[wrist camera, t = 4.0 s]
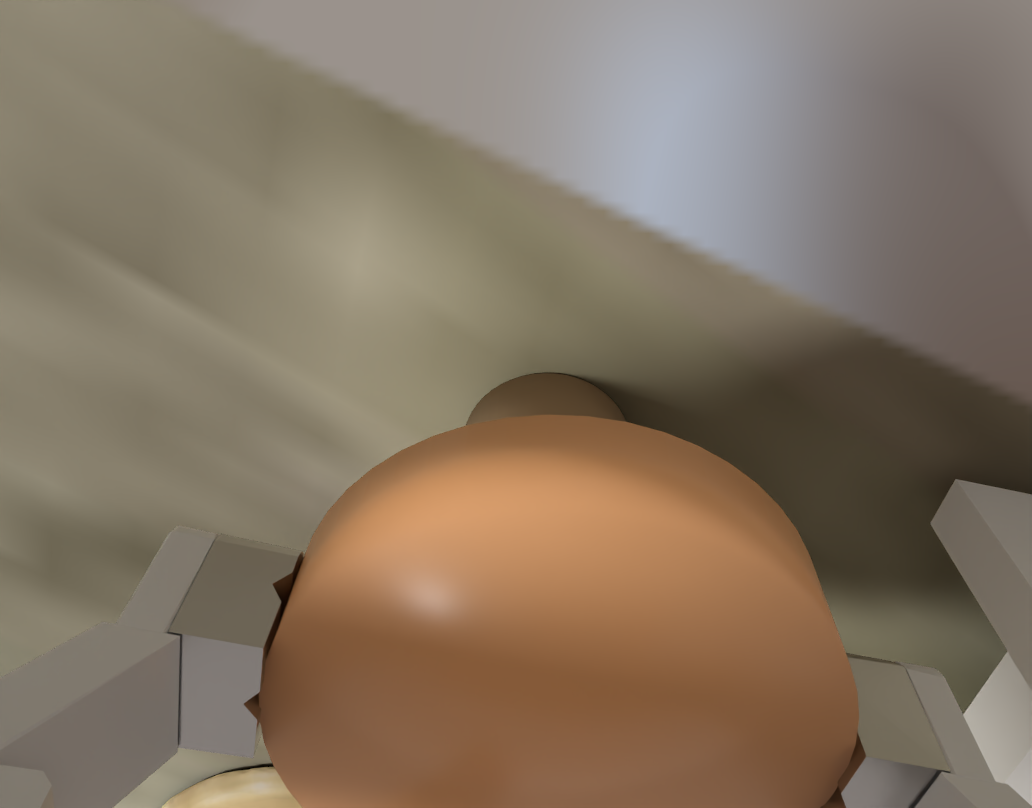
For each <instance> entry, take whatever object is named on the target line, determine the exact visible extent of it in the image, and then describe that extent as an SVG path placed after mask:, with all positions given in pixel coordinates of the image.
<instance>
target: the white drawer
mask: <svg viewBox="0 0 1032 808" xmlns="http://www.w3.org/2000/svg"><path fill="white" fill-rule="evenodd" d="M930 524H931V526H932V528H933V529H934V531H935V533H936V534H937V536H938V537H939V539H940V541H941V542H942V544H943V546H944V547H945V549H946V551H947V552H948V554H949V556H950V557H951V559H952V561H953V562H954V564H955V565H956V567H957V569H958V570H959V572H960V574H961V575H962V577H963V579H964V580H965V582H966V584H967V585H968V587H969V589H970V590H971V592H972V593H973V595H974V597H975V598H976V600H977V602H978V603H979V605H980V607H981V608H982V610H983V612H984V613H985V615H986V617H987V618H988V620H989V621H990V623H991V625H992V626H993V628H994V630H995V631H996V633H997V635H998V636H999V638H1000V640H1001V641H1002V643H1003V645H1004V646H1005V648H1006V649H1007V653H1006V654H1005V656H1004V657H1003V658H1002V660H1001V661H1000V663H999V664H998V666H997V667H996V668H995V670H994V671H993V673H992V674H991V676H990V677H989V679H988V680H987V681H986V683H985V684H984V686H983V687H982V689H981V690H980V691H979V693H978V694H977V696H976V697H975V699H974V700H973V702H972V703H971V704H970V706H969V707H968V709H967V710H966V712H965V713H964V714H963V716H964V718H965V720H966V722H967V724H968V726H969V728H970V730H971V732H972V734H973V736H974V738H975V740H976V742H977V744H978V746H979V749H980V751H981V753H982V755H983V757H984V759H985V761H986V763H987V765H988V767H989V769H990V771H991V773H992V775H993V777H994V779H995V781H996V782H1000V783H1005V784H1008V785H1009V786H1010V787H1011V788H1013V789H1014V790H1015V791H1016V792H1017V793H1018V794H1019V795H1020V796H1021V797H1022V798H1024V799H1025V800H1026V801H1027V802H1028V803H1029V804H1030V805H1031V806H1032V494H1027V493H1022V492H1017V491H1012V490H1007V489H1002V488H997V487H992V486H988V485H983V484H978V483H973V482H968V481H963V480H958V479H955V481H954V483H953V484H952V486H951V488H950V490H949V491H948V493H947V495H946V497H945V498H944V500H943V502H942V504H941V505H940V507H939V509H938V511H937V512H936V514H935V516H934V518H933V519H932V521H931V523H930Z"/></svg>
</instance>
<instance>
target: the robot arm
mask: <svg viewBox="0 0 1032 808" xmlns="http://www.w3.org/2000/svg"><path fill="white" fill-rule="evenodd" d="M303 558H304V554H303V552H302V551H301V550H296V549H291V548H286V547H282V546H277V545H272V544H268V543H263V542H258V541H254V540H249V539H244V538H240V537H235V536H230V535H225V534H216V533H211V532H207V531H202V530H197V529H193V528H188V527H184V526H179V525H178V526H177V527H176V528H175V529H173V530H172V531H171V532H170V533H169V534H168V536H167V537H166V539H165V541H164V542H163V544H162V546H161V547H160V549H159V551H158V552H157V554H156V556H155V558H154V559H153V561H152V563H151V564H150V566H149V568H148V569H147V571H146V573H145V575H144V576H143V578H142V580H141V581H140V583H139V585H138V586H137V588H136V590H135V592H134V593H133V595H132V597H131V598H130V600H129V602H128V603H127V605H126V607H125V609H124V610H123V612H122V614H121V615H120V617H119V619H118V620H117V622H116V624H111V623H105V622H101V623H99V624H98V625H96V626H94V627H92V628H90V629H88V630H87V631H85V632H83V633H81V634H79V635H78V636H76V637H74V638H72V639H70V640H68V641H67V642H65V643H63V644H61V645H59V646H57V647H56V648H54V649H52V650H50V651H48V652H47V653H45V654H43V655H41V656H39V657H37V658H36V659H34V660H32V661H30V662H28V663H27V664H25V665H23V666H21V667H19V668H17V669H16V670H14V671H12V672H10V673H8V674H6V675H5V676H3V677H1V678H0V808H113V807H114V806H115V805H116V804H117V803H119V802H120V801H121V800H122V799H123V798H124V797H126V796H127V795H128V794H129V793H130V792H131V791H133V790H134V789H135V788H136V787H137V786H138V785H140V784H141V783H142V782H143V781H144V780H146V779H147V778H148V777H149V776H150V775H151V774H153V773H154V772H155V771H156V770H157V769H158V768H160V767H161V766H162V765H163V764H164V763H165V762H167V761H168V760H169V759H170V758H171V757H172V756H174V755H175V754H176V753H177V749H178V748H185V749H192V750H199V751H206V752H213V753H221V754H228V755H235V756H242V757H249V758H254V755H255V752H256V749H257V746H258V743H259V741H260V738H261V735H262V729H261V724H260V717H261V708H260V707H259V692H260V690H261V687H262V685H263V682H264V674H265V662H266V659H267V656H268V653H269V650H270V648H271V645H272V642H273V640H274V637H275V634H276V631H277V629H278V626H279V623H280V620H281V617H282V615H283V612H284V609H285V607H286V604H287V601H288V599H289V596H290V593H291V591H292V588H293V585H294V583H295V580H296V577H297V574H298V572H299V569H300V566H301V563H302V561H303ZM846 655H847V658H848V660H849V663H850V666H851V670H852V673H853V677H854V681H855V684H856V688H857V693H858V707H859V724H858V731H857V738H856V745H855V748H854V751H853V754H852V757H851V760H850V762H849V765H848V767H847V768H846V770H845V771H844V773H843V774H842V776H841V777H840V779H839V780H838V787H837V788H836V790H835V792H834V794H833V795H832V796H831V797H830V799H829V800H828V801H827V802H826V804H825V805H823V806H821V807H820V808H1032V806H1031V805H1030V804H1029V803H1028V802H1027V801H1026V800H1025V799H1024V798H1022V797H1021V796H1020V795H1019V794H1018V793H1017V792H1016V791H1015V790H1014V789H1013V788H1011V787H1010V786H1009V785H1008V784H1005V783H1000V782H996V781H995V779H994V777H993V775H992V773H991V771H990V769H989V767H988V765H987V763H986V761H985V759H984V757H983V755H982V753H981V751H980V749H979V746H978V744H977V742H976V740H975V738H974V736H973V734H972V732H971V730H970V728H969V726H968V724H967V722H966V720H965V718H964V716H963V714H962V712H961V710H960V708H959V706H958V704H957V702H956V699H955V697H954V695H953V693H952V691H951V689H950V687H949V685H948V683H947V681H946V679H945V677H944V676H943V675H942V674H941V673H940V672H939V671H938V670H937V669H936V668H931V667H925V666H920V665H914V664H908V663H902V662H892V661H889V660H883V659H878V658H872V657H867V656H861V655H856V654H850V653H846Z"/></svg>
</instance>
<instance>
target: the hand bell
mask: <svg viewBox="0 0 1032 808" xmlns="http://www.w3.org/2000/svg"><path fill="white" fill-rule="evenodd" d="M161 808H303V807H302V806H301V805H300V804H299V803H298V801H297V800H296V799H295V798H294V796H293V795H292V794H291V793H290V792H289V790H288V789H287V788H286V786H285V784H284V783H283V781H282V779H281V778H280V776H279V774H278V773H277V771H276V769H275V768H274V767H261V768H252V769H249V770H239V771H232V772H227V773H223V774H219V775H216V776H213V777H211V778H208V779H206V780H203V781H201V782H199V783H197V784H195V785H193V786H191V787H189V788H187V789H185V790H184V791H182V792H180V793H179V794H177V795H175V796H173V797H172V798H170V799H169V800H168V801H167V802H166V803H165V804H164V805H163V806H162V807H161Z"/></svg>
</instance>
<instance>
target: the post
mask: <svg viewBox="0 0 1032 808" xmlns="http://www.w3.org/2000/svg"><path fill="white" fill-rule="evenodd" d="M535 415H573V416H590V417H597V418H604V419H610V420H617V421H624V422H626V421H625V418H624V416H623V414H622V413H621V411H620V409H619V408H618V406H617V405H616V404H615V403H614V401H613V400H612V399H611V398H610V397H609V396H608V395H606V394H605V393H604V392H603V391H601V390H600V389H599V388H597V387H595V386H594V385H592V384H590V383H588V382H586V381H583V380H581V379H578V378H575V377H572V376H568V375H563V374H556V373H539V374H530V375H525V376H521V377H518V378H515V379H512V380H509V381H507V382H505V383H503V384H501V385H499V386H498V387H496V388H494V389H493V390H491V391H490V392H489V393H488V394H487V395H485V396H484V397H483V398H482V399H481V401H480V402H479V403H478V404H477V405H476V407H475V408H474V410H473V411H472V413H471V415H470V417H469V419H468V421H467V424H466V426H467V425H471V424H476V423H481V422H486V421H492V420H497V419H502V418H508V417H521V416H535Z"/></svg>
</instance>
